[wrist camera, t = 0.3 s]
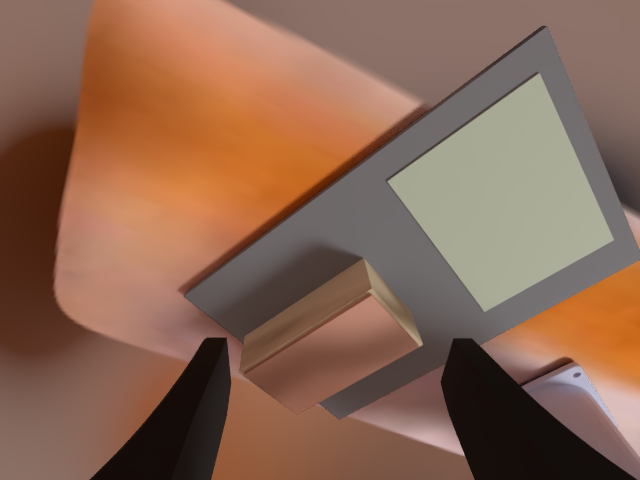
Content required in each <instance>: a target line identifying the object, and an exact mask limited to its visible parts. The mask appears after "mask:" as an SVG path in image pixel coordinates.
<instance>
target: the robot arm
mask: <svg viewBox="0 0 640 480" xmlns="http://www.w3.org/2000/svg"><path fill="white" fill-rule="evenodd" d="M441 386H442V390H443V394H444V398H445V402H446V405H447V409H448V413H449V416H450V418H451V421H452V423H453V426H454V429H455V431H456V434H457V436H458V439H459V441H460V444H461V446H462V449H463V452H464V454H465V457H466V459H467V462H468V464H469V466H470V469H471V472H472V474H473V477H474V479H475V480H640V457H639V456H638V454H637V453H636V452H635V450H634V449H633V448H632V447H631V445H630V444H629V443H628V441H627V440H626V439H625V437H624V436H623V435H622V434H621V432H620V431H619V430H618V428H617V427H618V425H617V423H616V422H615V420H614V419H613V417H612V415H611V414H610V412H609V411H608V409H607V407H606V406H605V404H604V403H603V401H602V400H601V398H600V396H599V395H598V393H597V392H596V390H595V388H594V387H593V385H592V384H591V382H590V380H589V379H588V377H587V376H586V374H585V373H584V371H583V369H582V368H581V366H580V365H579V364H578V363H576V362H571V363H569V364H567V365H565V366H562V367H560V368H558V369H556V370H554V371H552V372H550V373H548V374H546V375H544V376H542V377H540V378H538V379H536V380H533V381H531V382H529V383H527V384H525V385H523V386H520V385H519V384H518V383H517V382H516V381H514V380H513V379H512V378H511V377H510V376H509V375H508V374H507V373H506V372H505V371H504V370H503V369H502V368H501V367H500V366H499V365H498V364H497V363H496V362H495V361H494V360H493V359H492V358H491V357H490V356H489V355H488V354H487V353H486V352H485V351H484V350H483V349H482V348H481V347H480V346H479V345H478V344H477V343H476V342H475V341H474V340H473V339H472V338H453V341H452V345H451V348H450V352H449V355H448V358H447V362H446V365H445V369H444V372H443V376H442V379H441ZM230 388H231V377H230V366H229V356H228V346H227V338H206V339H204V340H203V342H202V344H201V345H200V347H199V349H198V350H197V352H196V353H195V355H194V357H193V358H192V360H191V361H190V363H189V364H188V366H187V367H186V369H185V370H184V371H183V373H182V374H181V376H180V377H179V379H178V380H177V381H176V383H175V384H174V385H173V387H172V388H171V389H170V391H169V392H168V393H167V395H166V396H165V397H164V399H163V400H162V401H161V402H160V404H159V405H158V406H157V408H156V409H155V410H154V411H153V412H152V414H151V415H150V416H149V417H148V418H147V420H146V421H145V422H144V423H143V424H142V426H141V427H140V428H139V429H138V430H137V431H136V432H135V434H134V435H133V436H132V437H131V438H130V439H129V440H128V441H127V442H126V443H125V444H124V446H123V447H122V448H121V449H120V450H119V451H118V452H117V453H116V454H115V455H114V456H113V457H112V458H111V459H110V460H109V461H108V462H107V463H106V464H105V465H104V466H103V467H102V468H101V469H100V470H99V471H98V472H97V473H96V474H95V475H94V476H93V477H92V478H91V479H90V480H211V477H212V474H213V469H214V466H215V461H216V457H217V453H218V449H219V445H220V441H221V437H222V433H223V429H224V425H225V421H226V416H227V410H228V403H229V395H230Z"/></svg>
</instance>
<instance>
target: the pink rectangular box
mask: <svg viewBox="0 0 640 480" xmlns="http://www.w3.org/2000/svg"><path fill="white" fill-rule="evenodd" d="M422 345H423V343H422V340H421V338H420V335H419V332H418V330H417V327H416V324H415V322H414V319H413V316H412V314H411V311H410V310H409V309H408V308H407V306H406V305H405V304H404V303H403V302H402V301H401V300H400V298H399V297H398V296H397V295H396V294H395V293H394V292H393V291H392V289H391V288H390V287H389V286H388V285H387V284H386V283H385V281H384V280H383V279H382V278H381V277H380V276H379V275H378V273H377V272H376V271H375V270H374V269H373V268H372V267H371V266H370V264H369V263H368V262H367V261H366V260H365V259H364V258H363V259H361V260H360V261H358V262H357V263H355V264H354V265H352V266H350V267H349V268H347V269H346V270H344V271H343V272H341V273H340V274H338V275H337V276H335V277H334V278H332V279H331V280H329V281H328V282H326V283H325V284H323V285H322V286H320V287H319V288H317V289H316V290H314V291H313V292H311V293H310V294H308V295H307V296H305V297H304V298H302V299H301V300H299V301H297V302H296V303H294V304H293V305H291V306H290V307H288V308H287V309H285V310H284V311H282V312H281V313H279V314H278V315H276V316H275V317H273V318H272V319H270V320H269V321H267V322H266V323H264V324H263V325H261V326H260V327H258V328H257V329H255V330H254V331H252V332H251V333H249V334H248V335H246V336H245V338H244V344H243V350H242V356H241V362H240V368H239V373H240V374H242V375H243V376H244V377H246V378H247V379H249V380H250V381H251V382H253V383H254V384H255V385H257V386H258V387H259V388H261V389H262V390H263V391H265V392H266V393H267V394H269V395H270V396H272V397H273V398H274V399H276V400H277V401H278V402H280V403H281V404H282V405H284V406H285V407H286V408H288V409H289V410H290V411H292V412H293V413H294V414H296V415H298V414H300V413H301V412H303V411H305V410H307V409H309V408H310V407H312V406H314V405H316V404H318V403H319V402H321V401H323V400H325V399H327V398H328V397H330V396H332V395H334V394H336V393H337V392H339V391H341V390H343V389H345V388H346V387H348V386H350V385H352V384H354V383H355V382H357V381H359V380H361V379H363V378H364V377H366V376H368V375H370V374H372V373H373V372H375V371H377V370H379V369H381V368H382V367H384V366H386V365H388V364H390V363H391V362H393V361H395V360H397V359H399V358H400V357H402V356H404V355H406V354H408V353H409V352H411V351H413V350H415V349H417V348H418V347H420V346H422Z"/></svg>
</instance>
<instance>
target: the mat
mask: <svg viewBox="0 0 640 480" xmlns="http://www.w3.org/2000/svg"><path fill="white" fill-rule="evenodd" d="M363 258H364V259H365V260H366V261H367V262H368V263H369V264H370V266H371V267H372V268H373V269H374V270H375V271H376V272H377V273H378V275H379V276H380V277H381V278H382V279H383V280H384V281H385V283H386V284H387V285H388V286H389V287H390V288H391V289H392V291H393V292H394V293H395V294H396V295H397V296H398V297H399V298H400V300H401V301H402V302H403V303H404V304H405V305H406V306H407V308H408V309H409V310H410V311H411V314H412V316H413V319H414V322H415V324H416V327H417V330H418V332H419V335H420V338H421V340H422V343H423V345H422V346H420V347H418V348H417V349H415V350H413V351H411V352H409V353H408V354H406V355H404V356H402V357H400V358H399V359H397V360H395V361H393V362H391V363H390V364H388V365H386V366H384V367H382V368H381V369H379V370H377V371H375V372H373V373H372V374H370V375H368V376H366V377H364V378H363V379H361V380H359V381H357V382H355V383H354V384H352V385H350V386H348V387H346V388H345V389H343V390H341V391H339V392H337V393H336V394H334V395H332V396H330V397H328V398H327V399H325V400H323V401H321V402H319V404H320V405H321V406H323V407H324V408H325V409H326V410H328V411H329V412H330V413H332V414H333V415H334V416H336V417H337V418H338V419H341V418H343V417H345V416H347V415H349V414H351V413H353V412H355V411H357V410H358V409H360V408H362V407H364V406H366V405H368V404H370V403H372V402H373V401H375V400H377V399H379V398H381V397H383V396H385V395H387V394H389V393H390V392H392V391H394V390H396V389H398V388H400V387H402V386H404V385H405V384H407V383H409V382H411V381H413V380H415V379H417V378H419V377H421V376H422V375H424V374H426V373H428V372H430V371H432V370H434V369H436V368H438V367H439V366H441V365H443V364H445V363H446V362H447V358H448V355H449V352H450V348H451V345H452V341H453V338H472V339H473V340H474V341H475V342H476V343H477V344H478V345H481V344H483V343H485V342H486V341H488V340H490V339H492V338H494V337H496V336H498V335H500V334H502V333H503V332H505V331H507V330H509V329H511V328H513V327H515V326H517V325H518V324H520V323H522V322H524V321H526V320H528V319H530V318H532V317H534V316H535V315H537V314H539V313H541V312H543V311H545V310H547V309H549V308H551V307H552V306H554V305H556V304H558V303H560V302H562V301H564V300H566V299H567V298H569V297H571V296H573V295H575V294H577V293H579V292H581V291H583V290H584V289H586V288H588V287H590V286H592V285H594V284H596V283H598V282H599V281H601V280H603V279H605V278H607V277H609V276H611V275H613V274H615V273H616V272H618V271H620V270H622V269H624V268H626V267H628V266H630V265H632V264H633V263H635V262H637V261H639V260H640V250H639V248H638V245H637V243H636V240H635V238H634V235H633V233H632V231H631V228H630V226H629V223H628V221H627V218H626V216H625V214H624V211H623V209H622V206H621V204H620V201H619V199H618V197H617V194H616V192H615V190H614V187H613V185H612V182H611V180H610V177H609V175H608V173H607V170H606V167H605V165H604V163H603V160H602V158H601V155H600V153H599V151H598V148H597V146H596V143H595V141H594V138H593V136H592V134H591V131H590V129H589V126H588V124H587V121H586V119H585V116H584V114H583V112H582V109H581V107H580V104H579V102H578V100H577V97H576V95H575V92H574V90H573V87H572V85H571V83H570V80H569V78H568V75H567V73H566V70H565V68H564V66H563V63H562V61H561V59H560V56H559V53H558V51H557V49H556V46H555V44H554V41H553V39H552V36H551V34H550V31H549V29H548V27H547V26H541V27H540V28H539V29H538V30H536V31H535V32H533V33H532V34H531V35H529V36H528V37H527V38H526V39H524V40H523V41H521V42H520V43H519V44H517V45H516V46H515V47H513V48H512V49H511V50H509V51H508V52H507V53H505V54H504V55H503V56H501V57H500V58H499V59H497V60H496V61H495V62H493V63H492V64H491V65H489V66H488V67H486V68H485V69H484V70H483V71H481V72H480V73H478V74H477V75H476V76H474V77H473V78H472V79H470V80H469V81H468V82H466V83H465V84H464V85H462V86H461V87H460V88H459V89H457V90H456V91H454V92H453V93H452V94H450V95H449V96H448V97H446V98H445V99H444V100H442V101H441V102H440V103H438V104H437V105H436V106H434V107H433V108H432V109H430V110H429V111H428V112H426V113H425V114H423V115H422V116H421V117H419V118H418V119H417V120H415V121H414V122H413V123H411V124H410V125H409V126H407V127H406V128H405V129H403V130H402V131H401V132H399V133H398V134H397V135H395V136H394V137H393V138H391V139H390V140H389V141H387V142H386V143H385V144H383V145H382V146H381V147H379V148H378V149H377V150H375V151H374V152H373V153H371V154H370V155H369V156H367V157H366V158H365V159H363V160H362V161H361V162H359V163H358V164H357V165H355V166H354V167H352V168H351V169H350V170H348V171H347V172H346V173H344V174H343V175H342V176H340V177H339V178H338V179H336V180H335V181H334V182H332V183H331V184H330V185H328V186H327V187H326V188H324V189H323V190H322V191H320V192H319V193H318V194H316V195H315V196H314V197H312V198H311V199H310V200H308V201H307V202H306V203H304V204H303V205H302V206H300V207H299V208H298V209H296V210H295V211H294V212H292V213H291V214H290V215H288V216H287V217H285V218H284V219H283V220H281V221H280V222H279V223H277V224H276V225H275V226H273V227H272V228H271V229H269V230H268V231H267V232H265V233H264V234H263V235H261V236H260V237H259V238H257V239H256V240H255V241H253V242H252V243H251V244H249V245H248V246H247V247H245V248H244V249H243V250H241V251H240V252H239V253H237V254H236V255H235V256H233V257H232V258H231V259H229V260H228V261H227V262H225V263H224V264H223V265H221V266H220V267H219V268H217V269H216V270H214V271H213V272H212V273H210V274H209V275H208V276H206V277H205V278H204V279H202V280H201V281H200V282H198V283H197V284H196V285H194V286H193V287H192V288H190V289H189V290H188V291H186V292H185V294H184V297H185V298H186V299H187V300H189V301H190V302H191V303H193V304H194V305H195V306H196V307H198V308H199V309H200V310H201V311H203V312H204V313H205V314H206V315H208V316H209V317H210V318H211V319H213V320H214V321H215V322H217V323H218V324H219V325H220V326H222V327H223V328H224V329H225V330H227V331H228V332H229V333H230V334H232V335H233V336H234V337H235V338H237V339H238V340H239V341H241V342H242V343H243V344H244V338H245V336H246V335H248V334H249V333H251V332H252V331H254V330H255V329H257V328H258V327H260V326H261V325H263V324H264V323H266V322H267V321H269V320H270V319H272V318H273V317H275V316H276V315H278V314H279V313H281V312H282V311H284V310H285V309H287V308H288V307H290V306H291V305H293V304H294V303H296V302H297V301H299V300H301V299H302V298H304V297H305V296H307V295H308V294H310V293H311V292H313V291H314V290H316V289H317V288H319V287H320V286H322V285H323V284H325V283H326V282H328V281H329V280H331V279H332V278H334V277H335V276H337V275H338V274H340V273H341V272H343V271H344V270H346V269H347V268H349V267H350V266H352V265H354V264H355V263H357V262H358V261H360V260H361V259H363Z"/></svg>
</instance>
